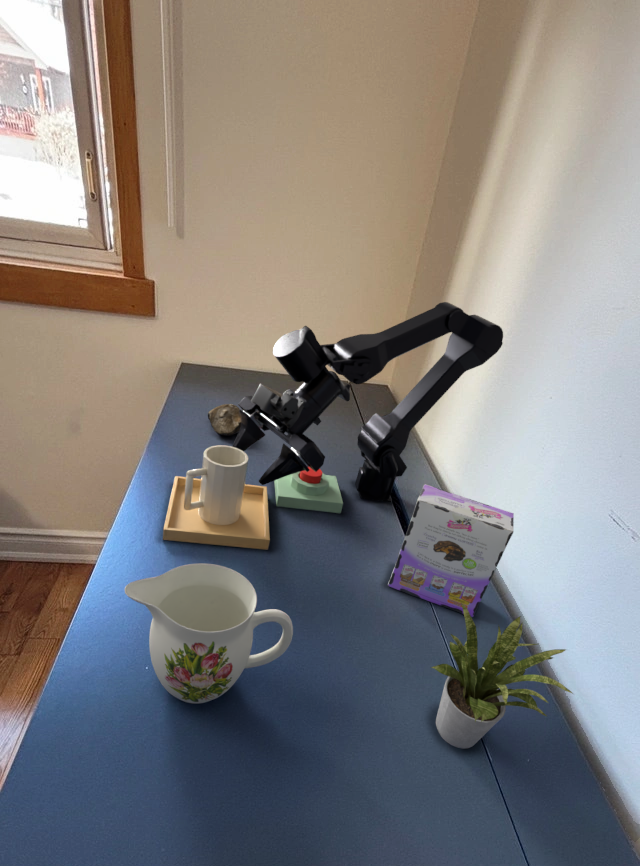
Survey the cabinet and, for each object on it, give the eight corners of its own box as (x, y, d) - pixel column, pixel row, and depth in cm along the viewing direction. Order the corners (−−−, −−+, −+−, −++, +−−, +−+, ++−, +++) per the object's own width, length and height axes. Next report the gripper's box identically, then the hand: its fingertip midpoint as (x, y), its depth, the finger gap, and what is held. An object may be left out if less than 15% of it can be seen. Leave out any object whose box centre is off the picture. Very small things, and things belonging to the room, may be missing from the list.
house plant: (529, 815, 57) (605, 720, 48) (402, 778, 57) (453, 677, 48) (511, 706, 69) (569, 614, 60) (406, 676, 69) (448, 581, 60)
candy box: (475, 596, 86) (516, 512, 77) (472, 619, 81) (515, 532, 72) (394, 566, 88) (424, 481, 80) (386, 586, 84) (417, 498, 75)
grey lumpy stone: (247, 432, 113) (248, 420, 122) (234, 403, 110) (236, 393, 119) (214, 445, 114) (218, 432, 123) (200, 416, 111) (205, 405, 120)
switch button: (319, 475, 102) (321, 467, 101) (321, 485, 98) (323, 477, 97) (298, 472, 101) (300, 464, 100) (300, 483, 98) (302, 474, 97)
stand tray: (265, 495, 98) (266, 486, 97) (267, 549, 85) (269, 539, 84) (174, 485, 95) (175, 475, 94) (162, 539, 82) (163, 529, 81)
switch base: (333, 485, 107) (338, 468, 105) (340, 513, 99) (345, 495, 97) (274, 478, 104) (277, 460, 102) (276, 506, 96) (279, 487, 94)
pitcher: (287, 717, 60) (311, 631, 53) (118, 723, 56) (117, 629, 48) (276, 643, 69) (295, 561, 62) (128, 643, 64) (130, 553, 57)
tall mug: (226, 499, 94) (233, 442, 88) (247, 520, 90) (256, 462, 84) (173, 510, 88) (177, 451, 82) (193, 533, 84) (198, 473, 78)
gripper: (254, 347, 88) (188, 417, 87) (325, 393, 77) (250, 472, 76) (286, 390, 97) (226, 453, 96) (352, 436, 86) (286, 507, 85)
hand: (245, 469), depth 88 cm, fingers open, 9 cm apart
